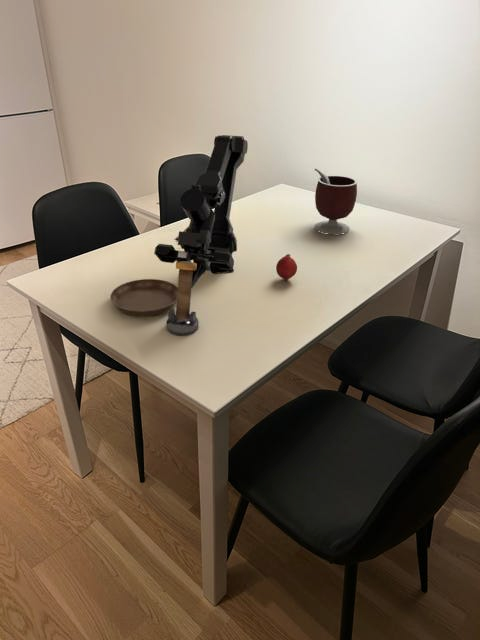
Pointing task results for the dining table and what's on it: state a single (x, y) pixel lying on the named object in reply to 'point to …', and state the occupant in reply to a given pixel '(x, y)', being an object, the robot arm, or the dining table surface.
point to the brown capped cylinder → (184, 288)
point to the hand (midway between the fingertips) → (187, 290)
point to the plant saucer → (145, 297)
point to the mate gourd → (334, 201)
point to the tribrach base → (181, 324)
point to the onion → (286, 267)
